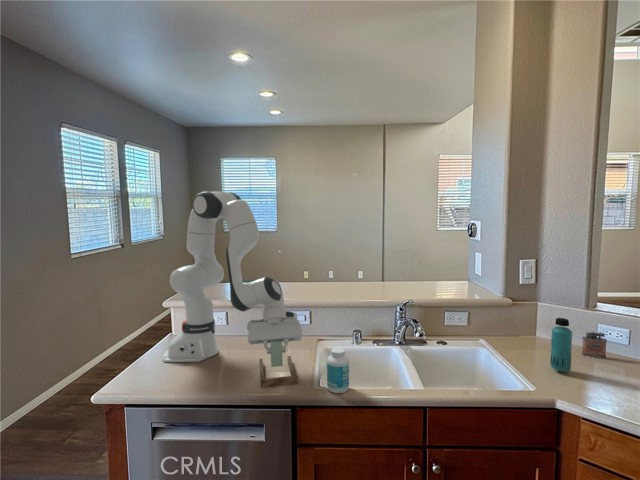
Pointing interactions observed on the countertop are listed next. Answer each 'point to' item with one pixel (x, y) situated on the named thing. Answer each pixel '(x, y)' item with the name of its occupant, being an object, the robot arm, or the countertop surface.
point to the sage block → (276, 353)
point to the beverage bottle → (561, 346)
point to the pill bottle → (337, 371)
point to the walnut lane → (278, 380)
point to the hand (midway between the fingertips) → (276, 352)
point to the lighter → (594, 345)
